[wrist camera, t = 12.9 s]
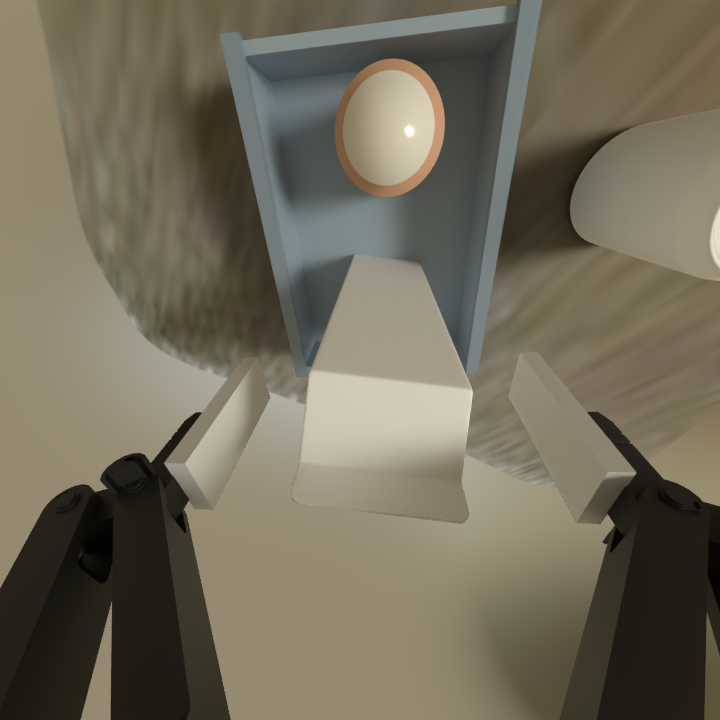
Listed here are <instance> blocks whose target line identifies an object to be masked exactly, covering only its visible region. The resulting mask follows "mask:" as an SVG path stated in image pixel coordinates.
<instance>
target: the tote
mask: <svg viewBox="0 0 720 720" xmlns="http://www.w3.org/2000/svg"><path fill="white" fill-rule="evenodd" d="M541 5H542V0H517V4H515V5H508V6H500V7H492V8H485V9H477V10H470V11H462V12H455V13H447V14H440V15H432V16H425V17H417V18H410V19H402V20H395V21H387V22H379V23H372V24H364V25H357V26H349V27H342V28H334V29H327V30H319V31H312V32H304V33H297V34H289V35H281V36H274V37H266V38H259V39H251V40H244V41H243V38H242V36H241V35H240V34H239V33H238V32H231V33H223V34H220V38H221V43H222V47H223V52H224V56H225V60H226V65H227V69H228V74H229V78H230V83H231V87H232V92H233V96H234V100H235V105H236V109H237V114H238V118H239V123H240V127H241V132H242V136H243V140H244V145H245V149H246V154H247V158H248V163H249V167H250V172H251V176H252V180H253V185H254V189H255V194H256V198H257V203H258V207H259V212H260V216H261V220H262V225H263V229H264V234H265V238H266V243H267V247H268V252H269V256H270V260H271V265H272V269H273V274H274V278H275V283H276V287H277V292H278V296H279V300H280V305H281V309H282V314H283V318H284V323H285V327H286V332H287V336H288V340H289V345H290V349H291V354H292V358H293V363H294V367H295V372H296V376H297V377H307V376H308V372H310V369H311V367H312V364H313V362H314V359H315V356H316V354H317V351H318V348H319V346H320V343H321V341H322V338H323V335H324V333H325V330H326V328H327V325H328V322H329V320H330V317H331V315H332V312H333V309H334V307H335V304H336V301H337V299H338V296H339V294H340V291H341V288H342V286H343V283H344V281H345V278H346V275H347V273H348V270H349V268H350V265H351V262H352V260H353V257H354V255H355V254H357V255H366V256H375V257H384V258H392V259H401V260H410V261H418V262H420V264H421V267H422V269H423V272H424V274H425V277H426V279H427V281H428V284H429V286H430V289H431V291H432V293H433V296H434V298H435V301H436V303H437V306H438V308H439V310H440V313H441V315H442V318H443V320H444V322H445V325H446V327H447V330H448V332H449V335H450V337H451V339H452V342H453V344H454V347H455V349H456V352H457V354H458V356H459V359H460V361H461V364H462V366H463V368H464V371H465V373H466V374H477V373H478V367H479V361H480V355H481V350H482V344H483V338H484V332H485V327H486V321H487V315H488V310H489V304H490V298H491V292H492V287H493V281H494V275H495V269H496V264H497V258H498V252H499V246H500V241H501V235H502V229H503V223H504V218H505V212H506V206H507V200H508V195H509V189H510V183H511V177H512V172H513V166H514V160H515V154H516V149H517V143H518V137H519V131H520V126H521V120H522V114H523V108H524V103H525V97H526V91H527V85H528V80H529V74H530V68H531V62H532V57H533V51H534V45H535V40H536V34H537V28H538V22H539V17H540V11H541ZM395 58H396V59H403V60H406V61H409V62H412V63H413V64H415V65H417V66H419V67H420V68H421V69H422V70H424V71H425V72H426V73H427V74H428V76H429V77H430V78H431V79H432V81H433V82H434V84H435V85H436V87H437V90H438V92H439V94H440V97H441V100H442V104H443V108H444V116H445V131H444V139H443V143H442V147H441V150H440V153H439V156H438V158H437V160H436V163H435V164H434V166H433V168H432V169H431V171H430V172H429V174H428V175H427V176H426V178H425V179H424V180H423V181H422V182H421V183H420V184H418V185H417V186H416V187H415V188H413V189H411V190H410V191H408V192H406V193H404V194H401V195H398V196H393V197H380V196H375V195H372V194H369V193H367V192H365V191H363V190H362V189H360V188H359V187H358V186H356V185H355V184H354V183H353V182H352V181H351V179H350V178H349V177H348V176H347V174H346V172H345V171H344V169H343V167H342V165H341V163H340V160H339V157H338V154H337V150H336V144H335V121H336V115H337V111H338V107H339V104H340V101H341V99H342V96H343V94H344V92H345V90H346V89H347V87H348V86H349V84H350V83H351V81H352V80H353V79H354V78H355V77H356V76H357V74H358V73H360V72H361V71H362V70H363V69H364V68H366V67H367V66H369V65H371V64H373V63H375V62H377V61H380V60H385V59H395Z"/></svg>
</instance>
